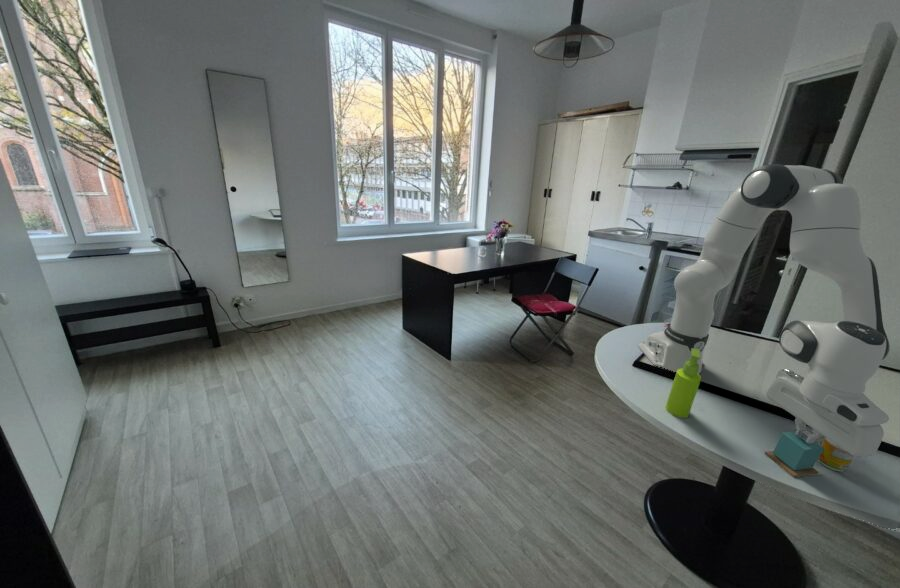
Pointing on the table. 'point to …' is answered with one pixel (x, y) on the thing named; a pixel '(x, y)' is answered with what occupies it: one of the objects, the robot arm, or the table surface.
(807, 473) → the wooden block stand
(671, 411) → the soap dispenser
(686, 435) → the table surface
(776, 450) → the teal rectangular block
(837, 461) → the supplement bottle
